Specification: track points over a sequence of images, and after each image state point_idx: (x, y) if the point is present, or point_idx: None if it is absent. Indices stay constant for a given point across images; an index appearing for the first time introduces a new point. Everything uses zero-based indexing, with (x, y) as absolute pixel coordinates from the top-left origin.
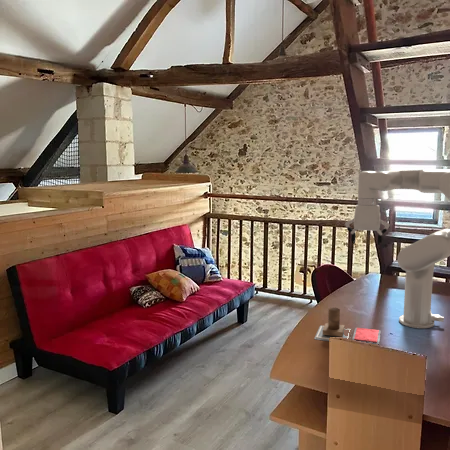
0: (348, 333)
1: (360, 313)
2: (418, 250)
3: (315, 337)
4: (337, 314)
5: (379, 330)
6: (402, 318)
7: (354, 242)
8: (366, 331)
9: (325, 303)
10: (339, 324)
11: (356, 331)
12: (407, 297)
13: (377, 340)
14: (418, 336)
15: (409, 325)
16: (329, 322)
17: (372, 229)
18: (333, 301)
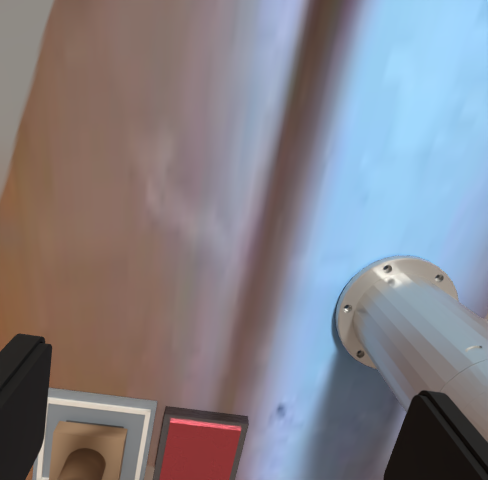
0: (141, 442)
1: (199, 243)
2: None
3: (34, 477)
4: None
5: (244, 424)
6: (350, 312)
7: (31, 458)
8: (199, 446)
9: (37, 127)
10: (101, 477)
11: (166, 451)
12: (397, 398)
13: None
14: (361, 418)
15: (357, 359)
16: None
17: None
18: (76, 91)
